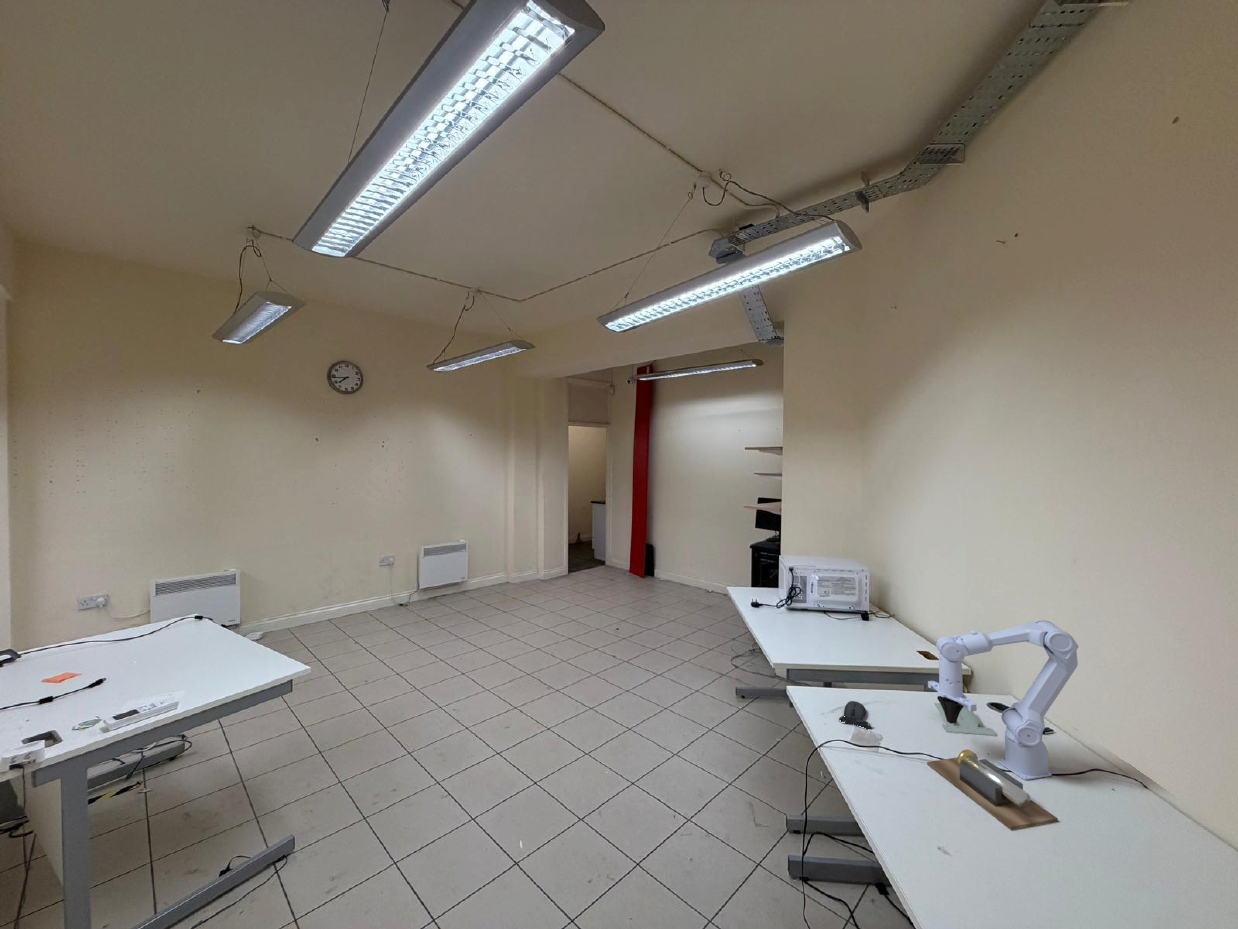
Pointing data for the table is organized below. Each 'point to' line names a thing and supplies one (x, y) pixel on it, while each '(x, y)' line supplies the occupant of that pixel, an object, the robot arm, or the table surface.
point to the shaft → (996, 779)
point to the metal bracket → (965, 723)
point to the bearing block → (986, 783)
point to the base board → (1005, 814)
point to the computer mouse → (855, 714)
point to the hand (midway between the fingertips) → (951, 722)
